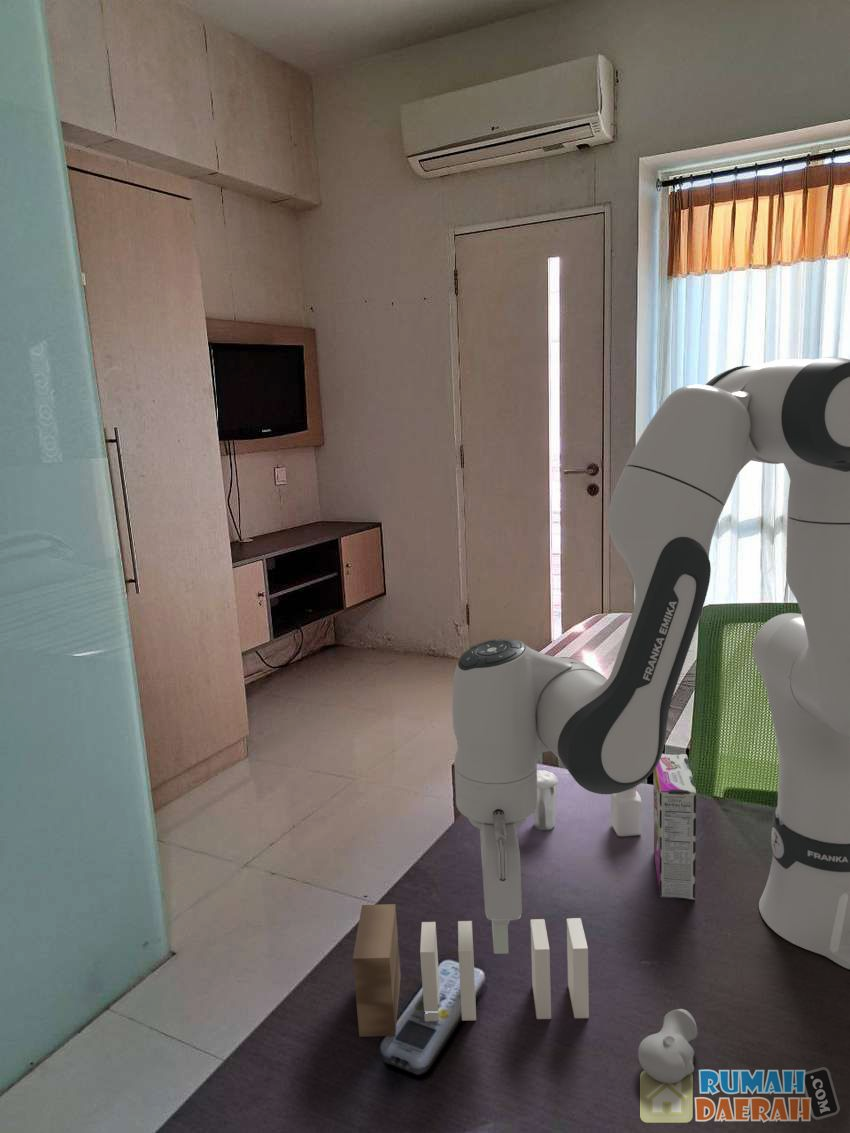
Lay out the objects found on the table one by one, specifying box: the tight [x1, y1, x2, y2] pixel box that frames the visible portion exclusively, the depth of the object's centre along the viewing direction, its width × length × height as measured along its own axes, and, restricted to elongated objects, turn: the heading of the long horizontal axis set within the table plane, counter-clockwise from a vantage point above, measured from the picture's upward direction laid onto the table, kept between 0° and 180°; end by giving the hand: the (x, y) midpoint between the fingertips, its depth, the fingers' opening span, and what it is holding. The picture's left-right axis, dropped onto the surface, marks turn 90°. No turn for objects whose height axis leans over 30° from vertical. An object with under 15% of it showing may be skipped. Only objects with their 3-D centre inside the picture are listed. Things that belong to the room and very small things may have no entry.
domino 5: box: [566, 917, 590, 1019], centre depth 89 cm, size 2×5×9 cm, turn 178°
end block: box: [352, 903, 402, 1038], centre depth 89 cm, size 4×9×10 cm, turn 178°
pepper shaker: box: [610, 785, 643, 837], centre depth 122 cm, size 4×4×10 cm
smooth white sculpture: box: [637, 1008, 698, 1084], centre depth 81 cm, size 4×8×5 cm
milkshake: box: [532, 769, 559, 832], centre depth 125 cm, size 4×5×10 cm
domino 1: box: [419, 921, 441, 1022], centre depth 89 cm, size 2×5×9 cm, turn 178°
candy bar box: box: [652, 752, 697, 901], centre depth 109 cm, size 11×5×16 cm, turn 168°
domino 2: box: [457, 920, 477, 1021], centre depth 89 cm, size 2×5×9 cm, turn 178°
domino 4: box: [530, 918, 552, 1020], centre depth 89 cm, size 2×5×9 cm, turn 178°
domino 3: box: [491, 920, 509, 955], centre depth 87 cm, size 2×5×9 cm, turn 178°
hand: (499, 901), depth 87 cm, fingers closed on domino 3, 5 cm apart
